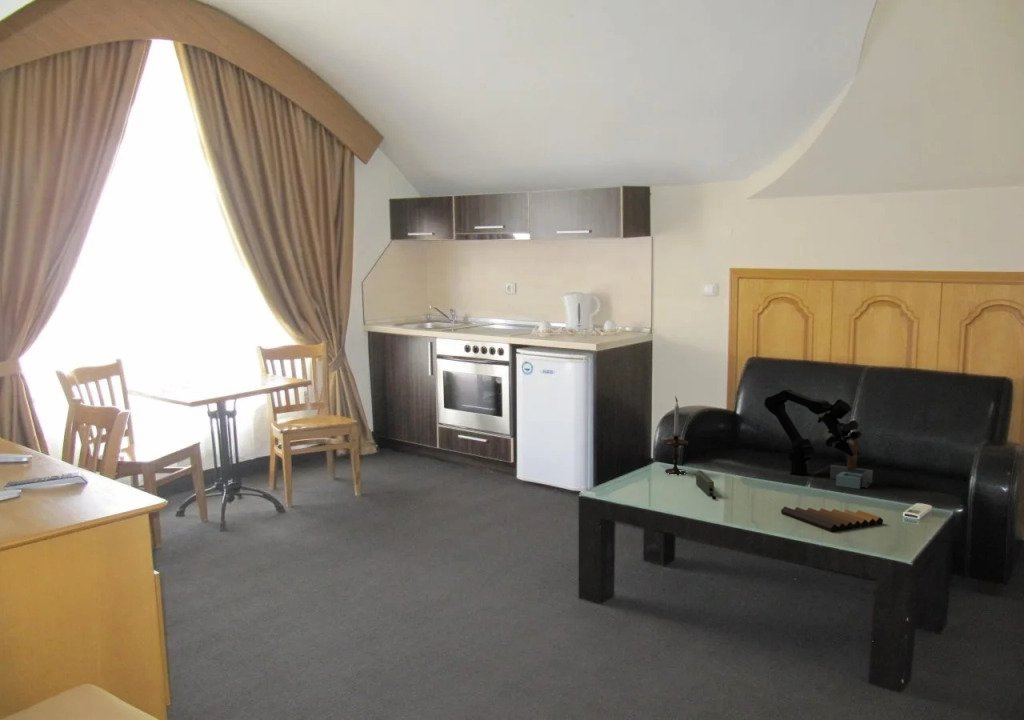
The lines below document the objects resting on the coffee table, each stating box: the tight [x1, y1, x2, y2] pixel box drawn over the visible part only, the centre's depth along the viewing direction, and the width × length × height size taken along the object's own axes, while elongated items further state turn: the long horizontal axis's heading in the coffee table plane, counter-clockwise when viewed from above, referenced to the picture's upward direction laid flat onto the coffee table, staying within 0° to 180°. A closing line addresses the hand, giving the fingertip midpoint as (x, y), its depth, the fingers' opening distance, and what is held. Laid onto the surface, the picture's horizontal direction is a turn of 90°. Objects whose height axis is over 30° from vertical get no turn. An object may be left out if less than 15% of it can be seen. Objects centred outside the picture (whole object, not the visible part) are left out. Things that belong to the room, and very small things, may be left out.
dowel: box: [846, 439, 859, 471], centre depth 367 cm, size 4×4×13 cm
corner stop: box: [829, 464, 874, 487], centre depth 372 cm, size 17×10×6 cm, turn 55°
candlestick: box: [663, 395, 689, 475], centre depth 389 cm, size 11×11×35 cm
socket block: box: [835, 472, 862, 489], centre depth 370 cm, size 10×10×4 cm
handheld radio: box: [695, 469, 717, 500], centre depth 356 cm, size 7×3×25 cm
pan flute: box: [780, 506, 884, 533], centre depth 318 cm, size 25×3×25 cm
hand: (855, 455), depth 366 cm, fingers closed on dowel, 4 cm apart
